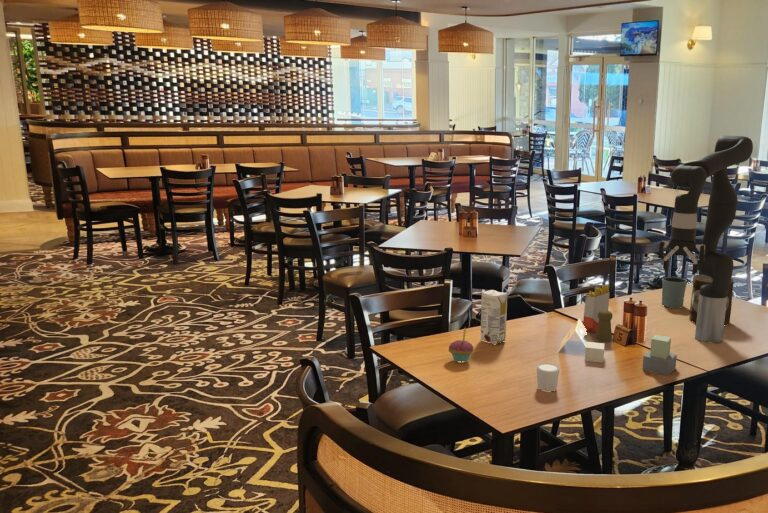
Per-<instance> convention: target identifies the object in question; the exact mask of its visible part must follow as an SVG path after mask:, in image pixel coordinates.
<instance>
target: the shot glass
mask: <svg viewBox="0 0 768 513" xmlns="http://www.w3.org/2000/svg"><path fill="white" fill-rule="evenodd" d="M559 374H560V367H559V366H558V365H556V364H553V363H539V364H537V365H536V379H537V380H536V381H537V389H538V388H540V389H541V390H545V391H554V390H556V391H557V387H558V383H559V382H558V381H559ZM541 390H540V391H541ZM554 392H555V391H554Z"/></svg>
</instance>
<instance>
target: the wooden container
mask: <svg viewBox="0 0 768 513" xmlns="http://www.w3.org/2000/svg"><path fill="white" fill-rule="evenodd" d="M712 281H713V277H710V276H706V275H703V274H697V275H696V274H695V275H693V277H692V291H691V299H690V307H689V318H688V319H689V321H690V322H692V321H693V323H694V322H695V323H694V324H696V322H697V312H698V303H699V292H700V287H701V286H703V285H709V284H712ZM733 290H734V279H733V278H731V284H730V288H729V291H728V293H727V301H726V311H725V320H724V325H727V324H729V325H730V323H731V322H730V321H731V313H732V306H733V305H732V304H733V293H734V292H733ZM727 326H728V325H727Z"/></svg>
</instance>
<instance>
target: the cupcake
mask: <svg viewBox="0 0 768 513" xmlns="http://www.w3.org/2000/svg"><path fill="white" fill-rule="evenodd" d="M466 328H467V326H465V327H464V328H463V335H462V340H460V339H459V340H455V341H453V342H452V343H450V344H449V346H448V352H449V353H450V354H451V355H452V359H453V361H454V360H455V361H461V362H462V361H467V360H468V361H469V358H470V356H471V354H472V353H473V351H474V346H473V345H472V343H470V341H468V340H465V339H466V333H467V332H466V331H467V329H466ZM455 361H454V362H455ZM468 361H467V362H468Z"/></svg>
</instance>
